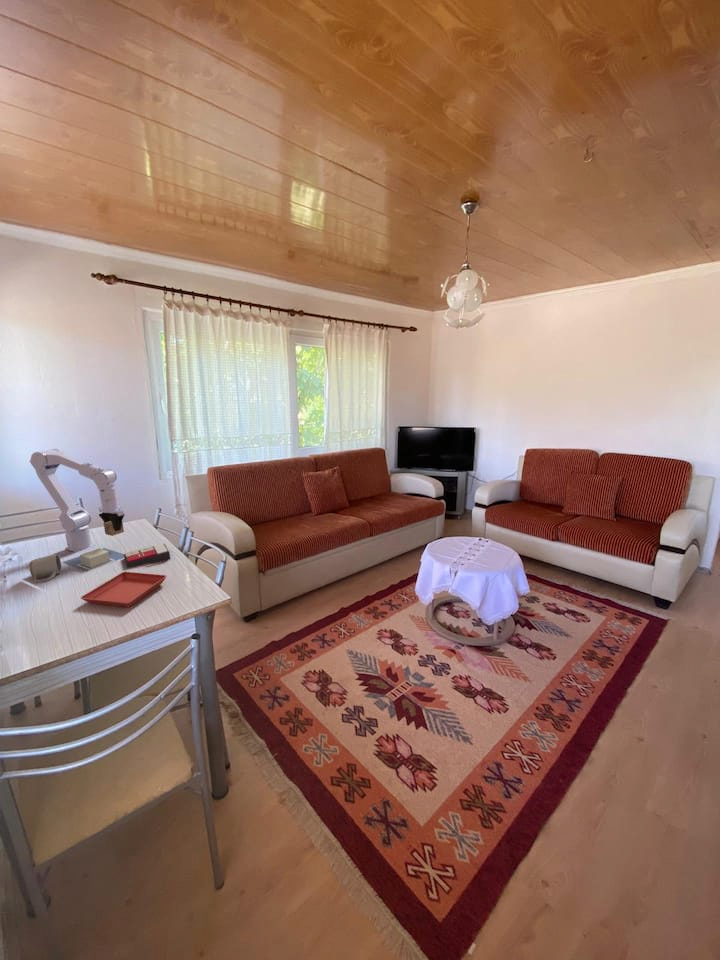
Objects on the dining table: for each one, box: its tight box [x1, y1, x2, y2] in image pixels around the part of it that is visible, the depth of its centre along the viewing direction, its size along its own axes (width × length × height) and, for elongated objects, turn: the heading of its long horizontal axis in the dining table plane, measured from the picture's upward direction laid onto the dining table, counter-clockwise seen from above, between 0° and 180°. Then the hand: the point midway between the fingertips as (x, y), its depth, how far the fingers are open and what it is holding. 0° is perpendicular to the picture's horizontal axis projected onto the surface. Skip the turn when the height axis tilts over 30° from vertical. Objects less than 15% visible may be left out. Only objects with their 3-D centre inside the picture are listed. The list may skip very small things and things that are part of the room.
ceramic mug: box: [29, 553, 63, 583], centre depth 141 cm, size 11×8×8 cm
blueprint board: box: [62, 547, 125, 572], centre depth 155 cm, size 18×16×1 cm
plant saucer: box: [80, 571, 167, 608], centre depth 129 cm, size 18×18×3 cm
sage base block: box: [79, 548, 110, 568], centre depth 151 cm, size 7×7×4 cm
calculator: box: [123, 543, 171, 569], centre depth 155 cm, size 11×4×15 cm
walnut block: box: [103, 521, 125, 537], centre depth 164 cm, size 5×5×5 cm
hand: (114, 529), depth 165 cm, fingers closed on walnut block, 5 cm apart
